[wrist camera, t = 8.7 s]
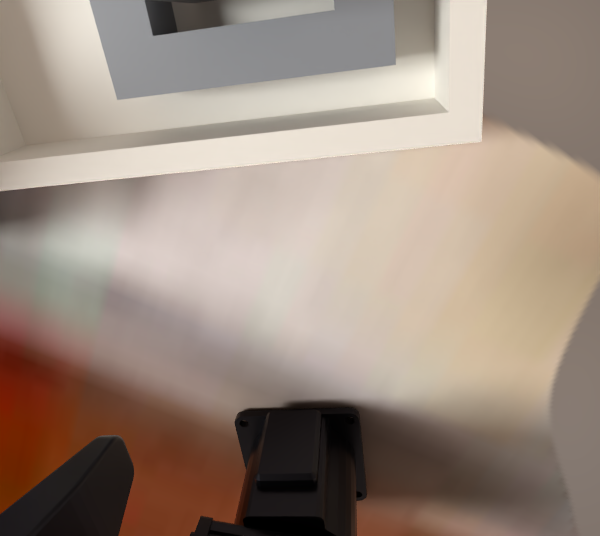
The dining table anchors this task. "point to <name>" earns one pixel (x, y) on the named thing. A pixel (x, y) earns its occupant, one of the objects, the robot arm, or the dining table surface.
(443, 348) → the dining table surface
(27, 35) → the box
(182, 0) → the plug
